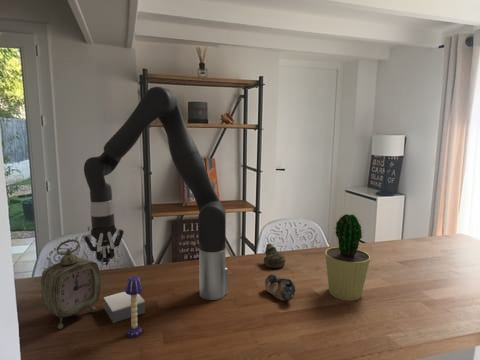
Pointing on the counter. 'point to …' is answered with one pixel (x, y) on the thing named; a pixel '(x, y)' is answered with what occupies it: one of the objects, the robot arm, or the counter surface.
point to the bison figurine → (280, 287)
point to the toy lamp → (134, 305)
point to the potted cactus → (347, 261)
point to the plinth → (122, 306)
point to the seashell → (273, 257)
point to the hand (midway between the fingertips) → (105, 259)
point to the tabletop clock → (70, 285)
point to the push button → (105, 253)
